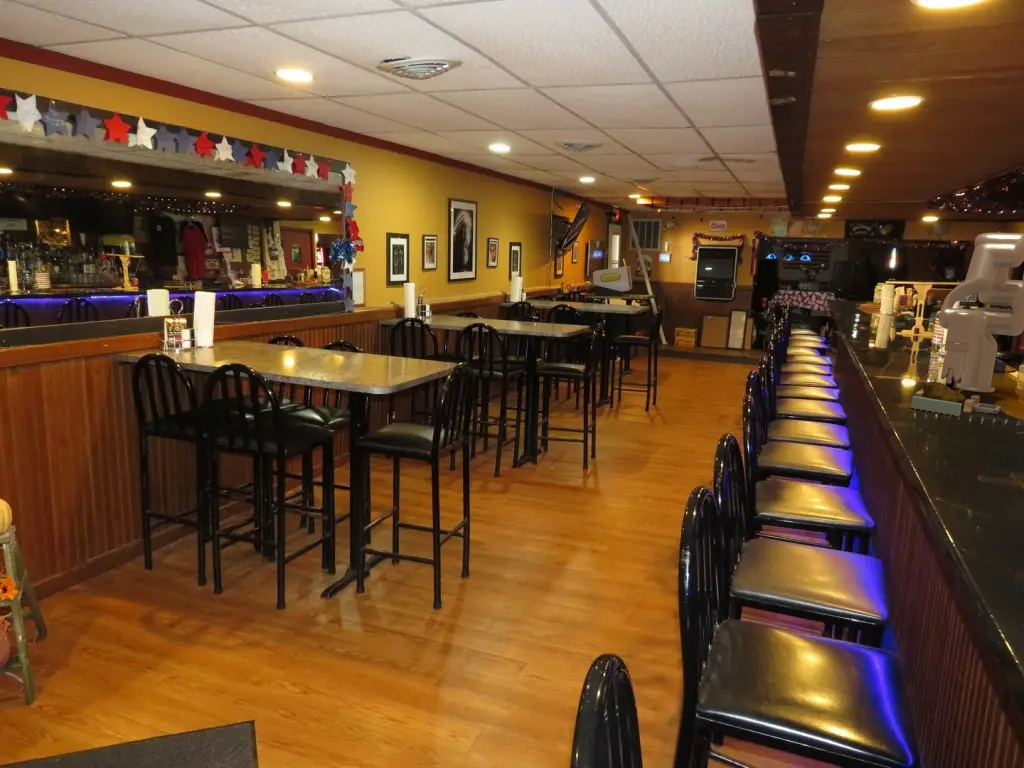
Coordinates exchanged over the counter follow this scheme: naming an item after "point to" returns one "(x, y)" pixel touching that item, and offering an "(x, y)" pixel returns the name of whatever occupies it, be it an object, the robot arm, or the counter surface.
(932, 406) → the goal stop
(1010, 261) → the robot arm
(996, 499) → the counter surface
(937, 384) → the potato
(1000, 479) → the counter surface
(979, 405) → the grey tray
